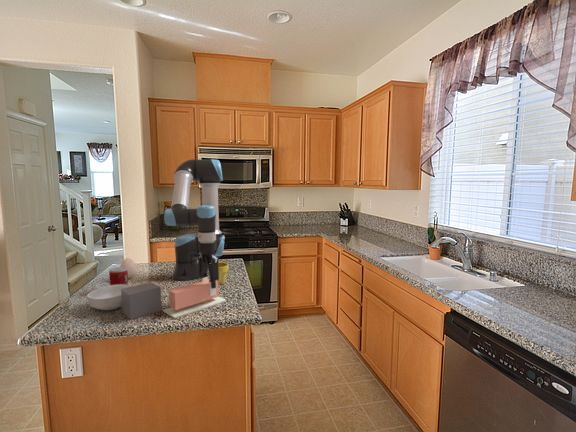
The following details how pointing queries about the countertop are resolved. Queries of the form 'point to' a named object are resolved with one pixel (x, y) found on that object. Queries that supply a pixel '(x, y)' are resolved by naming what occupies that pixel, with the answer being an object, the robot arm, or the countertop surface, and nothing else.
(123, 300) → the grey block
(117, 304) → the cereal bowl
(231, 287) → the countertop surface
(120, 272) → the canned food
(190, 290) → the long pink block
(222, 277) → the plant pot
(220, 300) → the pale green flat board
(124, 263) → the egg
